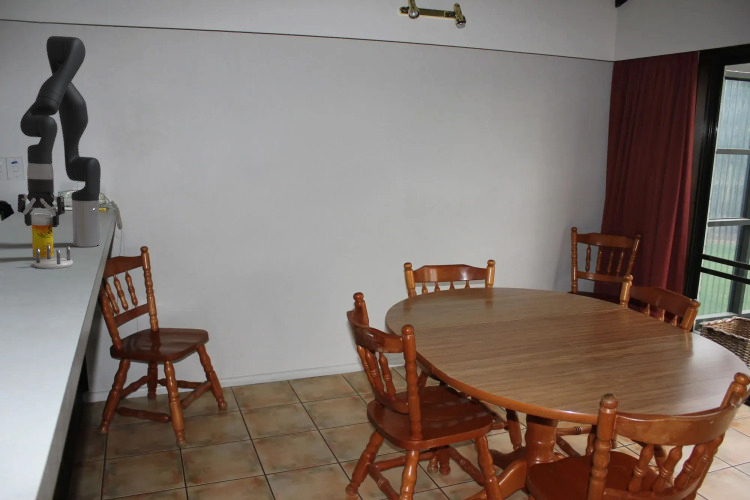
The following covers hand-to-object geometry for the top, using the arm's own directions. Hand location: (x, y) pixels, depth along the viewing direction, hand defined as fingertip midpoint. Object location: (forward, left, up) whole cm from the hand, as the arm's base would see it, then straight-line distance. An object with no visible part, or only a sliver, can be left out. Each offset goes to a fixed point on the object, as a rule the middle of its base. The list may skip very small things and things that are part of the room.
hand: (41, 226), depth 198 cm
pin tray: (+9, +8, -11) cm, 16 cm away
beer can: (0, 0, -11) cm, 11 cm away
